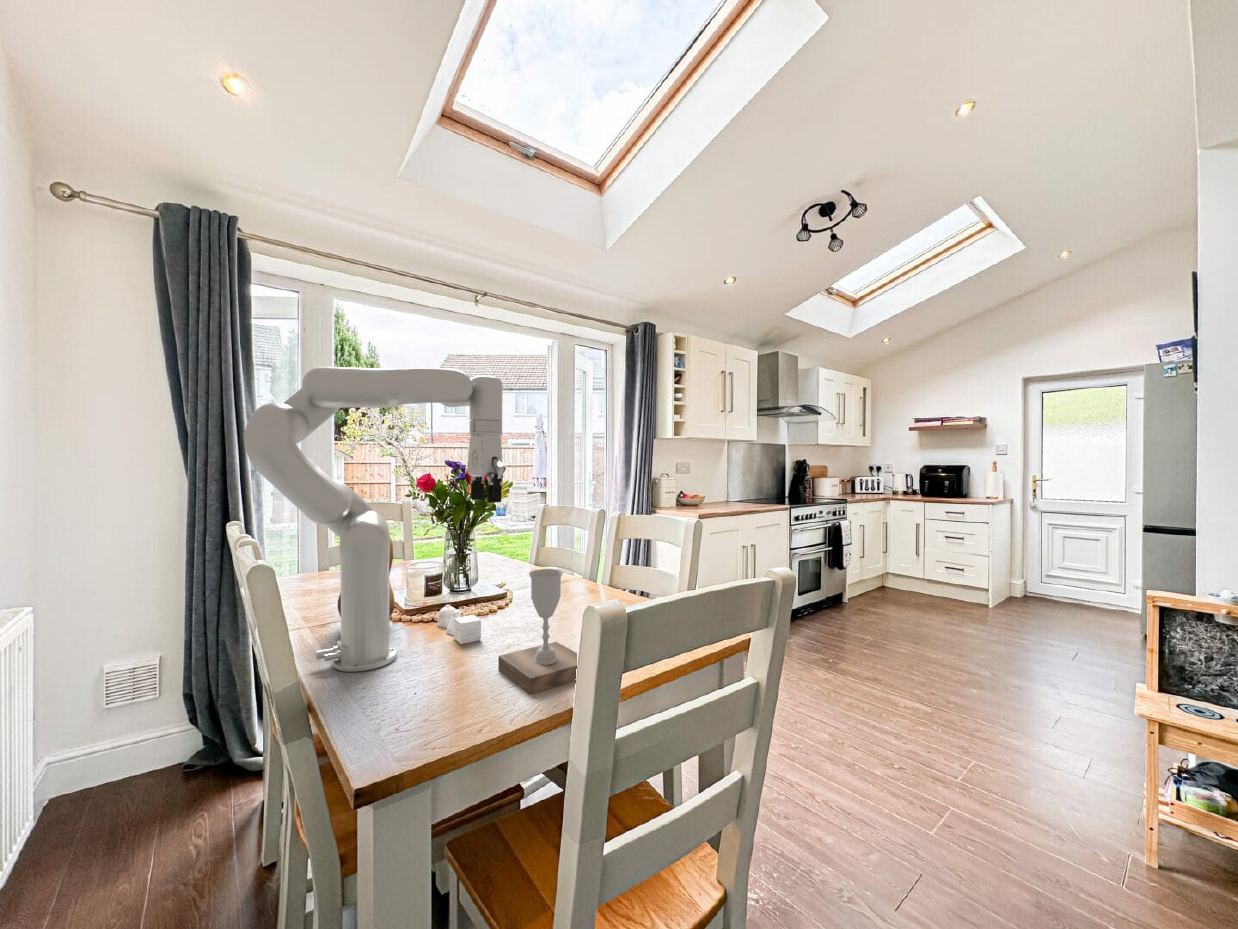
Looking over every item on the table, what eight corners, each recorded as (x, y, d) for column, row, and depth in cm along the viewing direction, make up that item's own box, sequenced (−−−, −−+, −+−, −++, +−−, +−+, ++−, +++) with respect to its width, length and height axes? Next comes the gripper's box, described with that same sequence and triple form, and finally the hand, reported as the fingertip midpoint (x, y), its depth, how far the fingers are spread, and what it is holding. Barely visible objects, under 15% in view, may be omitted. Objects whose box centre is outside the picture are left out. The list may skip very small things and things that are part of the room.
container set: (481, 641, 127) (481, 619, 127) (460, 646, 124) (460, 623, 123) (454, 620, 143) (454, 600, 143) (434, 624, 140) (434, 603, 140)
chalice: (546, 669, 102) (547, 578, 102) (521, 662, 106) (521, 574, 106) (569, 657, 109) (570, 571, 108) (544, 650, 112) (544, 567, 112)
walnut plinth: (530, 694, 98) (530, 678, 98) (498, 670, 109) (498, 655, 109) (591, 675, 107) (591, 661, 107) (556, 654, 118) (556, 641, 118)
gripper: (457, 429, 128) (456, 499, 128) (485, 426, 114) (485, 504, 115) (486, 430, 133) (485, 497, 133) (517, 428, 119) (516, 502, 119)
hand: (485, 500), depth 124 cm, fingers open, 9 cm apart
